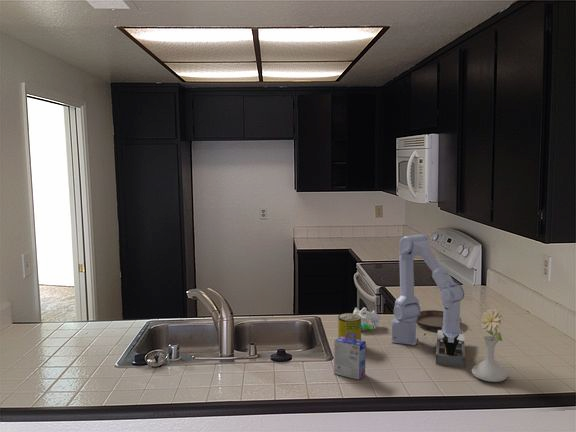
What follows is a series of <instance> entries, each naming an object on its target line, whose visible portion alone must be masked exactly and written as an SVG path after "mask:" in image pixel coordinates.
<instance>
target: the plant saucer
mask: <svg viewBox="0 0 576 432" xmlns="http://www.w3.org/2000/svg"><path fill="white" fill-rule="evenodd" d="M443 312H444V310H436V309H435V310H434V309H433V310H431V309H430V310H429V309H428V310H421V313H420V316H418V319H417V320H416V325H418V326H419V327H420V328H424V329H426V330H430V331H436V332H438V330H442V327H443ZM461 323H462V317H460V324H461Z"/></svg>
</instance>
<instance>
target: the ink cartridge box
mask: <svg viewBox="0 0 576 432" xmlns="http://www.w3.org/2000/svg"><path fill="white" fill-rule="evenodd" d="M348 335H353V336H354V338H353V337H348ZM356 335H357V334H356V333H351V332H347V335H346V337H339V338H338V337H337V339H335V340H334V344H333V345H334V349H333V350H334V351H333V352H334V353H333V354H334V355H333V357H334V360H333V375H339V376H342V377H346V378H350V379H355V380H361V379H362V378H363V377H365V376H366V354H367V353H366V351H367V348H366V345H367V344H366V340H363V339H361V340H357V339H356Z"/></svg>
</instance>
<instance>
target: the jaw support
mask: <svg viewBox="0 0 576 432" xmlns="http://www.w3.org/2000/svg"><path fill="white" fill-rule="evenodd" d="M352 314H357V315H360V316H361V329H363V328H364V329H366V330H367V329H368V330H369V331H370V330H372V329H373V330H374V329H375V327H376V328H377V327H378V326H379V323H380V322H381V317H380V315H379V314H378V313H377V311H376V310H375V309H373V310H372V311H369V310H368V308H367V307H362V309H361V310H360V309H359V308H357V307H354V310H353V312H352ZM370 321H371V323H372V324H370V323H369V322H370Z"/></svg>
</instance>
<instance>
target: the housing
mask: <svg viewBox="0 0 576 432" xmlns="http://www.w3.org/2000/svg"><path fill="white" fill-rule="evenodd" d="M465 348H466V347H465V341H464V342H459V343H458V344H457V347H456V349H455V356H452V355H445V345H444V342H443V340H437V339H436V349H435V365H441V366H450V367H458V368H465V367H466V353H465V352H466V351H465V350H466V349H465Z"/></svg>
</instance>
